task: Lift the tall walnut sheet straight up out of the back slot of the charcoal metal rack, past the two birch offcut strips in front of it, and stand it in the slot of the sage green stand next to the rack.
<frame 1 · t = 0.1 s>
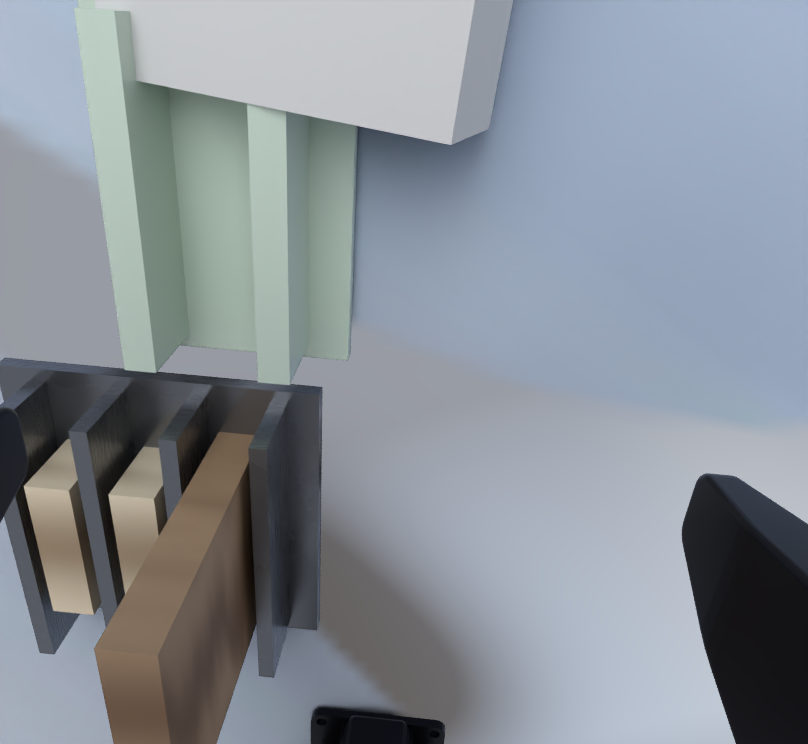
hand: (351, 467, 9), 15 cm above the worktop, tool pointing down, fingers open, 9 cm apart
offcut strip middle: (171, 510, 28), point 1 cm above the worktop, touching offcut rack
offcut rack: (176, 500, 28), on the worktop
walnut sheet: (244, 517, 28), point 1 cm above the worktop, touching offcut rack
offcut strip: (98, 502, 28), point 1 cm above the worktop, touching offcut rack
sage stand: (232, 189, 22), on the worktop
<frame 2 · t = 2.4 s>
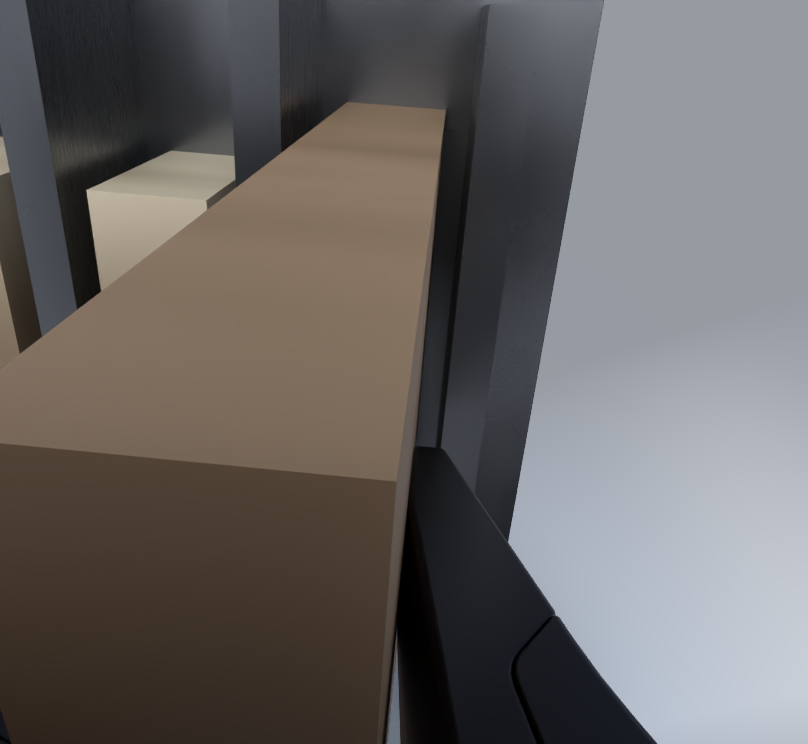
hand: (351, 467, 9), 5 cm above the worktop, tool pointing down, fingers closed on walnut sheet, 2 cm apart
offcut strip middle: (226, 317, 13), point 1 cm above the worktop, touching offcut rack
offcut rack: (235, 305, 14), on the worktop
walnut sheet: (383, 331, 13), point 1 cm above the worktop, touching gripper, offcut rack
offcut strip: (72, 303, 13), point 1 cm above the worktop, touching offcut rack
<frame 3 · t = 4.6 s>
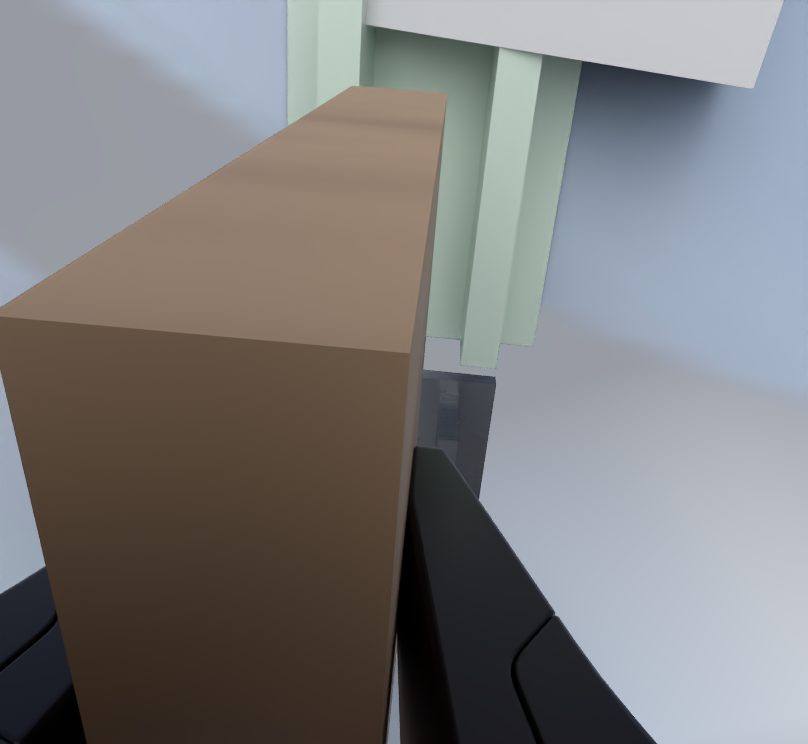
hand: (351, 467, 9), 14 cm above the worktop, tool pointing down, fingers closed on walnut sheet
offcut rack: (317, 501, 26), on the worktop
walnut sheet: (386, 311, 13), point 9 cm above the worktop, touching gripper
sage stand: (425, 156, 20), on the worktop
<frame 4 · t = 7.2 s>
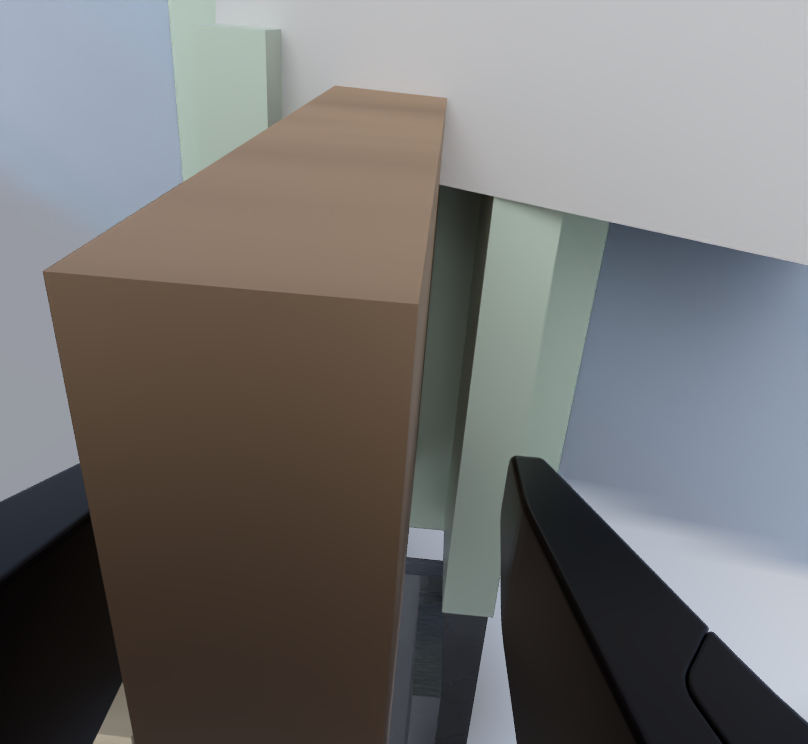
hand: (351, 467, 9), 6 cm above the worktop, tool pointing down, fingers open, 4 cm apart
offcut rack: (266, 697, 20), on the worktop
walnut sheet: (389, 294, 14), point 1 cm above the worktop
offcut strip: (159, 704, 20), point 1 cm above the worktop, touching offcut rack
sage stand: (390, 299, 14), on the worktop
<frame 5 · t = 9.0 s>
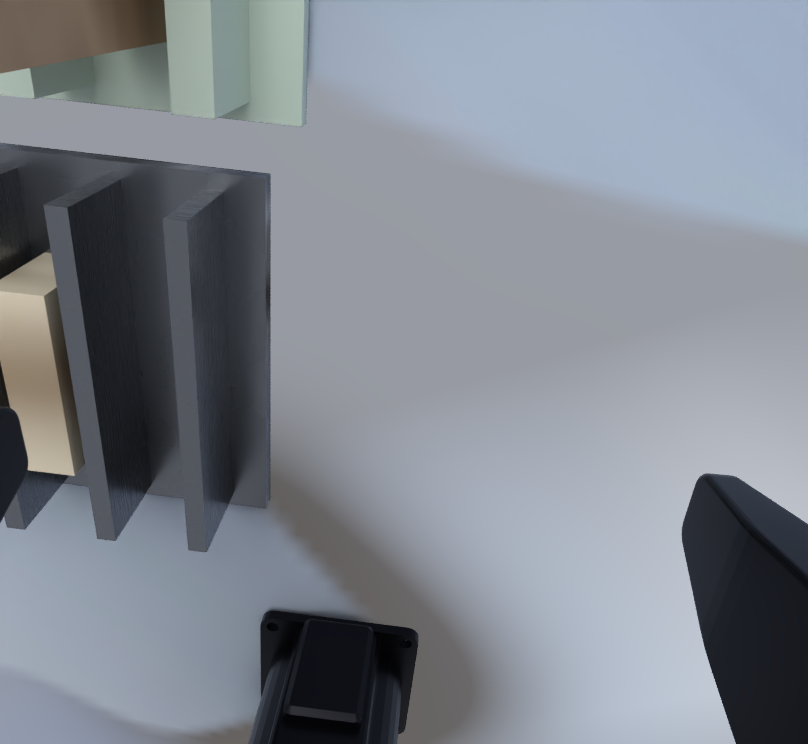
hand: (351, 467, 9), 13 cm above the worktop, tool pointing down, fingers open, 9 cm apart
offcut strip middle: (83, 343, 22), point 1 cm above the worktop, touching offcut rack
offcut rack: (92, 335, 23), on the worktop
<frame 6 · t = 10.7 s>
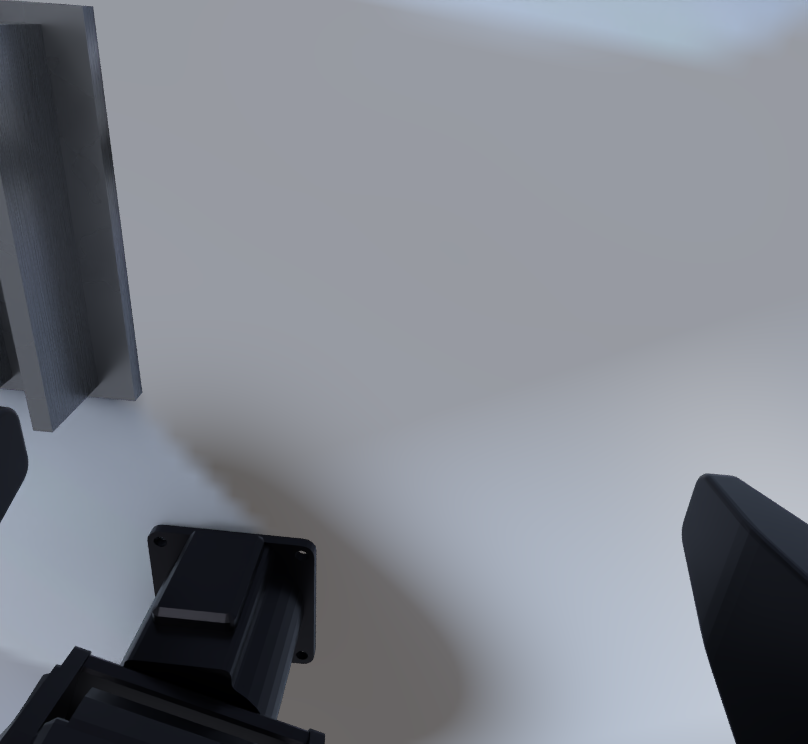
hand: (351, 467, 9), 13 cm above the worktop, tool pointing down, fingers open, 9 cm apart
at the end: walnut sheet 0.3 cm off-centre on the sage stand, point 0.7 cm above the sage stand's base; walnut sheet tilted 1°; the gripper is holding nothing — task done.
